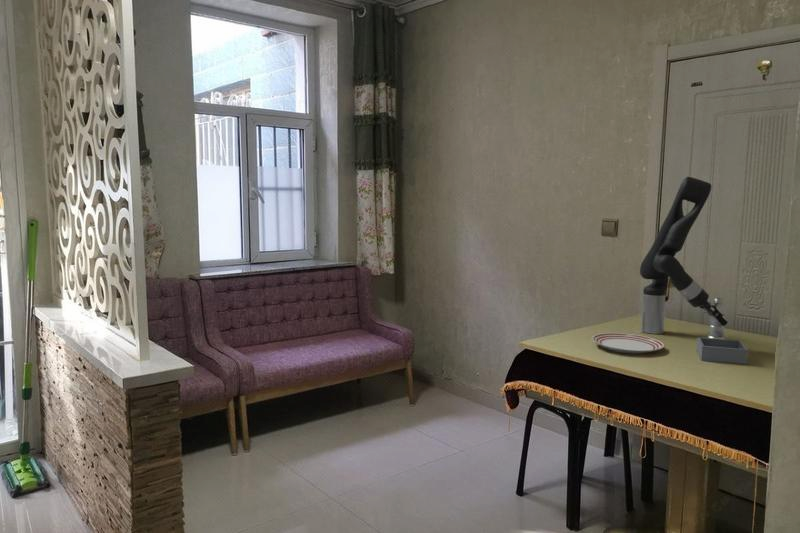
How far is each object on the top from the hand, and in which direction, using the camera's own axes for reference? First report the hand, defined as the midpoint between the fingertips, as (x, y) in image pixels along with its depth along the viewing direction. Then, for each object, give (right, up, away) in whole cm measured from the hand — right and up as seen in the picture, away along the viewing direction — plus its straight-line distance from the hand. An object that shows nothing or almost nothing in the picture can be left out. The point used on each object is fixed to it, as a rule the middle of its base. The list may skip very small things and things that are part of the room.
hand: (721, 322), depth 242 cm
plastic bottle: (-2, -10, +2) cm, 11 cm away
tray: (-7, -12, -13) cm, 19 cm away
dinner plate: (-37, -11, +2) cm, 39 cm away
